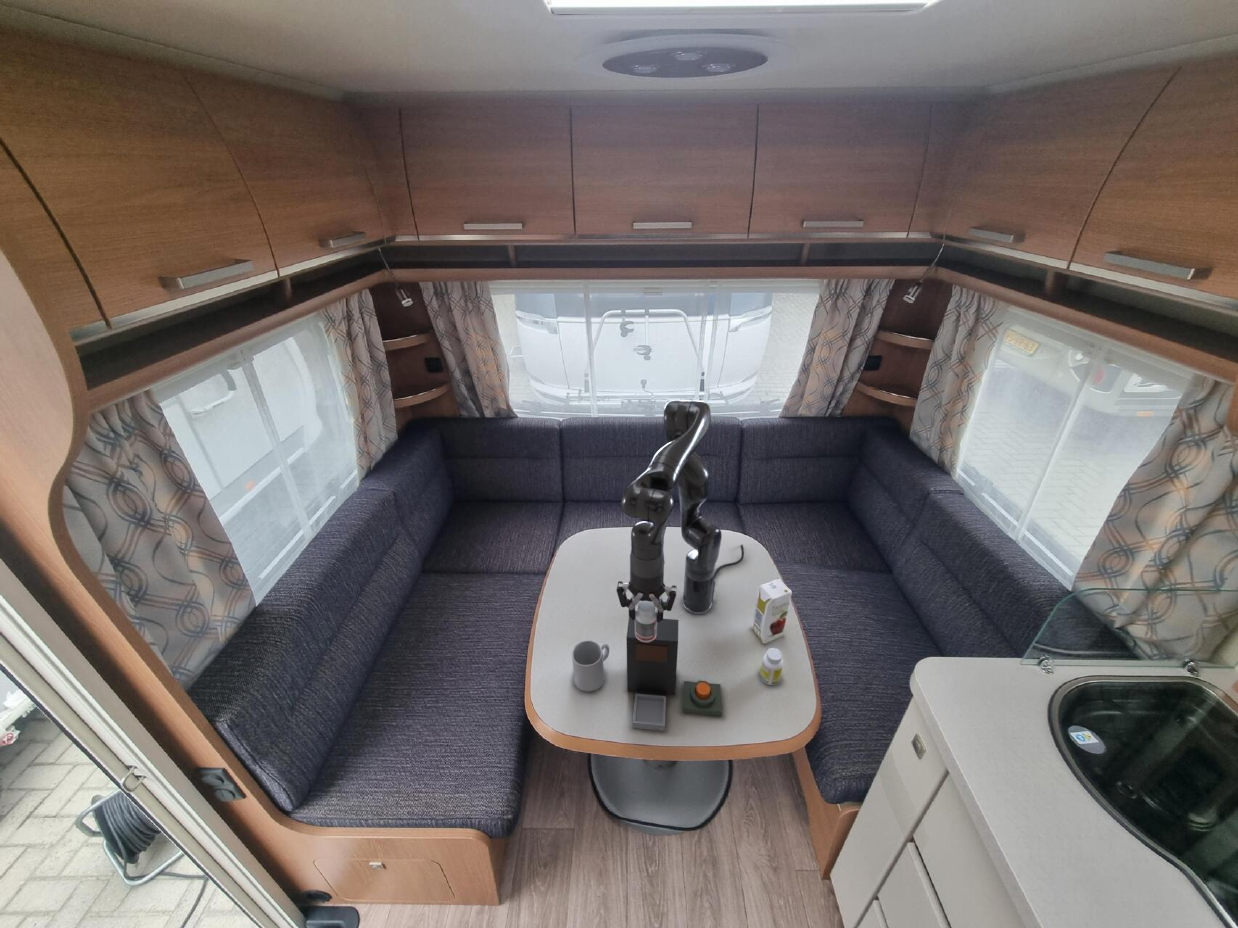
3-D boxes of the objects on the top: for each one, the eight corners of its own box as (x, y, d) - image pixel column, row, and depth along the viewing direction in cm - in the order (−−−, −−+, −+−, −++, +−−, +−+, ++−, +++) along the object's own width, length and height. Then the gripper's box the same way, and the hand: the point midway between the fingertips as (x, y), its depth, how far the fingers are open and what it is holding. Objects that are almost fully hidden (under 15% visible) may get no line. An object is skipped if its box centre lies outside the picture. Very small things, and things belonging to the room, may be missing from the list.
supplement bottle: (780, 671, 139) (785, 648, 134) (779, 688, 134) (784, 665, 129) (760, 666, 140) (765, 643, 135) (758, 682, 136) (763, 659, 131)
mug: (588, 697, 133) (585, 672, 127) (567, 678, 138) (564, 653, 132) (619, 670, 140) (618, 644, 134) (598, 652, 145) (597, 627, 140)
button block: (683, 685, 135) (684, 676, 133) (719, 689, 134) (721, 679, 132) (683, 712, 129) (683, 703, 127) (721, 716, 127) (723, 707, 125)
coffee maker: (629, 669, 140) (629, 615, 129) (675, 673, 139) (678, 619, 128) (623, 726, 126) (621, 672, 114) (674, 732, 124) (677, 677, 113)
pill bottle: (659, 640, 117) (660, 612, 112) (637, 645, 116) (638, 616, 111) (653, 623, 122) (654, 595, 117) (632, 627, 121) (632, 599, 116)
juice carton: (747, 628, 152) (755, 583, 142) (770, 619, 155) (779, 575, 145) (763, 646, 146) (772, 601, 136) (786, 637, 149) (796, 592, 139)
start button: (695, 685, 131) (696, 681, 130) (709, 686, 131) (709, 682, 130) (696, 698, 128) (696, 693, 127) (710, 699, 128) (710, 695, 127)
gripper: (612, 574, 105) (614, 628, 114) (679, 579, 104) (676, 633, 112) (616, 551, 112) (618, 604, 120) (680, 556, 110) (676, 609, 119)
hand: (646, 618), depth 116 cm, fingers closed on pill bottle, 5 cm apart
